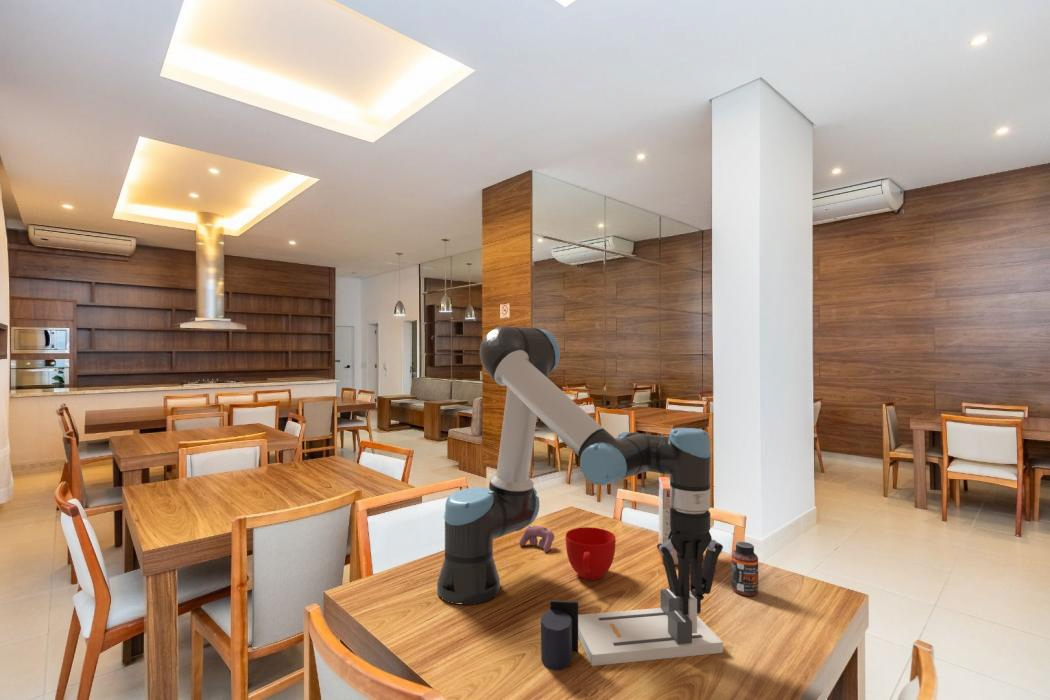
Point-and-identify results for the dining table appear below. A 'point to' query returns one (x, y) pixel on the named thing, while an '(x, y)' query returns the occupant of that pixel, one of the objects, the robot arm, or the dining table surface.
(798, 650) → the dining table surface
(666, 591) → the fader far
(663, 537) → the cracker box
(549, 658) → the speaker
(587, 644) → the mixing board
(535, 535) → the purple arched piece
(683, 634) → the fader near
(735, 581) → the supplement bottle
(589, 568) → the ceramic cup
